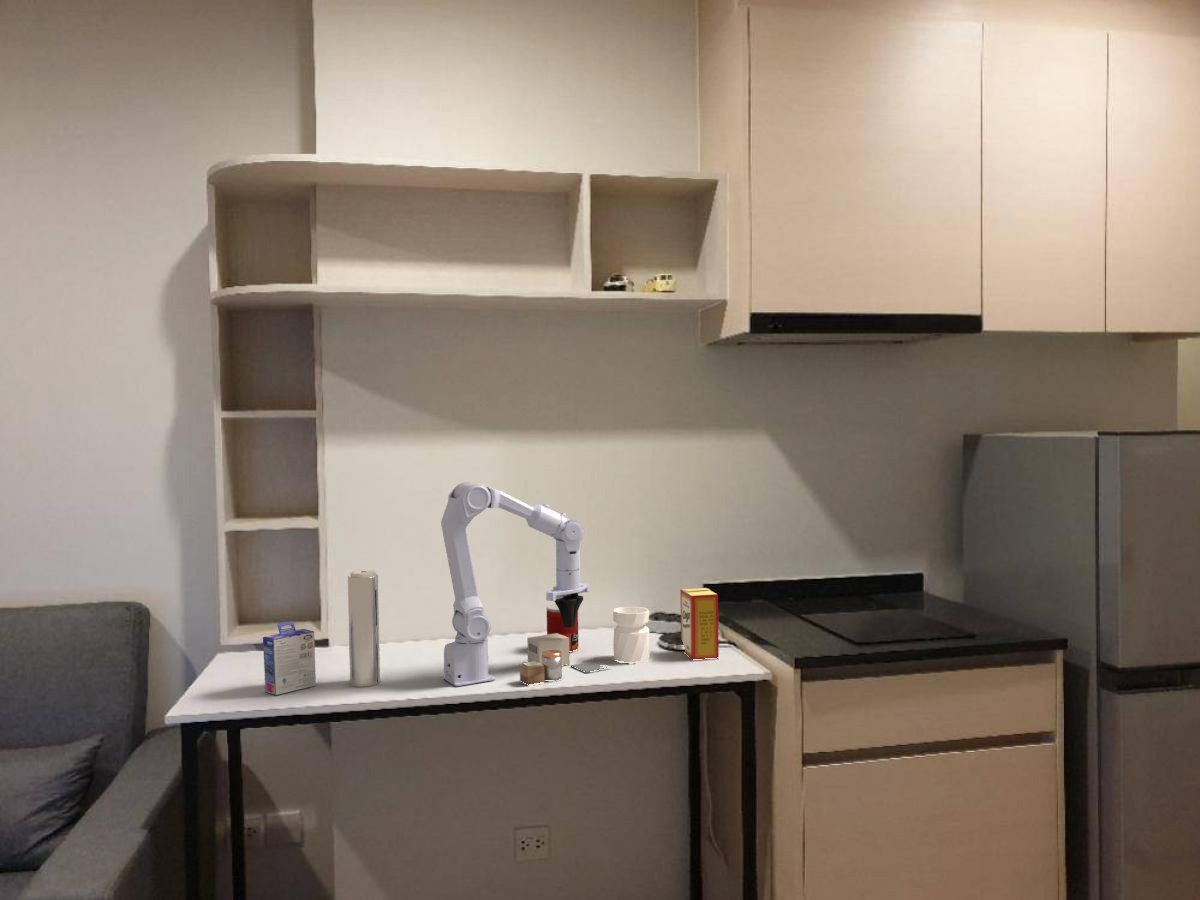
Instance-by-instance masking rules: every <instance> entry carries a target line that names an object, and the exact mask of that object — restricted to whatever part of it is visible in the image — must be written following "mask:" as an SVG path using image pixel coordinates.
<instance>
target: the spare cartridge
mask: <svg viewBox="0 0 1200 900" xmlns="http://www.w3.org/2000/svg"><path fill="white" fill-rule="evenodd" d="M542 665H544V680H559V679H561V678H562V679H563V666H562V652H561V651H558V650H547V651H543V652H542Z"/></svg>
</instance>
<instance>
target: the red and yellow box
mask: <svg viewBox="0 0 1200 900" xmlns="http://www.w3.org/2000/svg"><path fill="white" fill-rule="evenodd" d="M679 592H680V594H679V595H680V641H681V640H682V642H683V644H684V647H685V653H686V654H687V655H688V656H689V657H690V658H691V659H692V660H693V659H705V658H717V657H719V654H720V653H719V652H720V651H719V650H720V649H719V594H717V593H715V592H714V591H712V590H711V589H710V588H707V587H697V588H695V587H694V588H693V587H692V588H680V591H679ZM689 657H688V658H689ZM690 658H689V659H690ZM691 659H690V660H691ZM692 660H691V661H692Z"/></svg>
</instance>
